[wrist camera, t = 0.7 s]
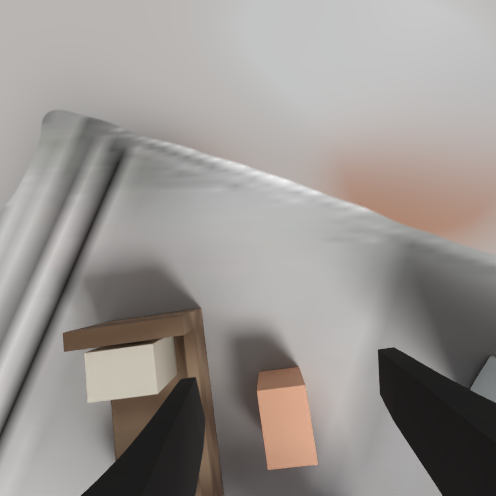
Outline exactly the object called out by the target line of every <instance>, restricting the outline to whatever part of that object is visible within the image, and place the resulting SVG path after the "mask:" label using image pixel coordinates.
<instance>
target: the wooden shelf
mask: <svg viewBox="0 0 496 496" xmlns="http://www.w3.org/2000/svg"><path fill="white" fill-rule="evenodd" d="M167 337H174V346H175V355H176V364H177V375H176V376H175V377H174V378H173V379H172V380H171V381H170V382H169V383H168V384H167V385H166V386H165V387H164V388H163V389H162V390H161V391H160V392H159V393H158V394H154V395H146V396H139V397H131V398H123V399H115V400H111V403H112V416H113V429H114V442H115V455H116V460H117V459H118V458H119V457H120V456H121V455H122V454H123V453H124V452H125V450H126V449H127V448H128V447H129V446H130V445H131V443H132V442H133V441H134V440H135V438H136V437H137V436H138V435H139V434H140V432H141V431H142V430H143V429H144V427H145V426H146V425H147V424H148V422H149V421H150V420H151V418H152V417H153V416H154V414H155V413H156V412H157V410H158V409H159V408H160V406H161V405H162V404H163V402H164V401H165V400H166V398H167V397H168V395H169V394H170V393H171V391H172V390H173V388H174V387H175V386H176V384H177V383H178V382H179V380H180V379H184V378H191V377H196V380H197V384H198V389H199V393H200V397H201V402H202V406H203V411H204V415H205V419H206V420H205V436H204V448H203V454H202V460H201V466H200V472H199V477H198V483H197V488H196V494H195V496H224V492H223V484H222V476H221V468H220V460H219V451H218V443H217V435H216V427H215V419H214V410H213V402H212V394H211V386H210V378H209V369H208V361H207V353H206V345H205V336H204V328H203V320H202V312H201V308H199V309H192V310H185V311H178V312H171V313H164V314H157V315H150V316H144V317H137V318H130V319H123V320H116V321H109V322H105V323H101V324H97V325H93V326H89V327H85V328H81V329H77V330H73V331H69V332H65V333H63V342H64V352H66V351H73V350H80V349H88V348H95V347H102V346H109V345H116V344H123V343H131V342H138V341H145V340H152V339H159V338H167Z"/></svg>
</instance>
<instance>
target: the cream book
mask: <svg viewBox="0 0 496 496" xmlns="http://www.w3.org/2000/svg"><path fill="white" fill-rule="evenodd" d="M84 357H85V372H86V387H87V402H88V403H92V402H100V401H107V400H115V399H123V398H131V397H139V396H146V395H154V394H158V393H159V392H160V391H161V390H162V389H163V388H164V387H165V386H166V385H167V384H168V383H169V382H170V381H171V380H172V379H173V378H174V377H175V376H176V375H177V364H176V355H175V346H174V337H167V338H159V339H152V340H145V341H138V342H131V343H123V344H116V345H109V346H102V347H99V348H97V349H94V350H91V351H89V352H86V353H84Z"/></svg>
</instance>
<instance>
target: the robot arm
mask: <svg viewBox="0 0 496 496" xmlns="http://www.w3.org/2000/svg"><path fill="white" fill-rule="evenodd" d="M378 360H379V382H380V395H381V397H382V399H383V401H384V403H385V405H386V407H387V409H388V411H389V413H390V415H391V416H392V418H393V420H394V422H395V423H396V425H397V427H398V428H399V430H400V431H401V433H402V434H403V436H404V437H405V439H406V440H407V442H408V443H409V445H410V446H411V448H412V449H413V451H414V453H415V454H416V456H417V457H418V459H419V460H420V462H421V463H422V465H423V466H424V468H425V469H426V471H427V472H428V474H429V475H430V477H431V478H432V480H433V481H434V483H435V484H436V486H437V487H438V489H439V491H440V492H441V494H442V495H443V496H496V403H495V402H493V401H491V400H489V399H487V398H485V397H483V396H481V395H479V394H477V393H475V392H473V391H471V390H469V389H467V388H465V387H463V386H461V385H460V384H458V383H456V382H454V381H452V380H450V379H448V378H447V377H445V376H443V375H441V374H439V373H438V372H436V371H434V370H432V369H431V368H429V367H427V366H425V365H424V364H422V363H420V362H419V361H417V360H415V359H413V358H412V357H410V356H408V355H407V354H405V353H403V352H401V351H399V350H398V349H396V348H394V347H393V348H386V349H380V350H378ZM205 420H206V419H205V415H204V411H203V406H202V402H201V397H200V393H199V389H198V384H197V380H196V377H191V378H184V379H180V380H179V382H178V383H177V384H176V386H175V387H174V388H173V390H172V391H171V393H170V394H169V395H168V397H167V398H166V400H165V401H164V402H163V404H162V405H161V406H160V408H159V409H158V410H157V412H156V413H155V414H154V416H153V417H152V418H151V420H150V421H149V422H148V424H147V425H146V426H145V427H144V429H143V430H142V431H141V432H140V434H139V435H138V436H137V437H136V438H135V440H134V441H133V442H132V443H131V445H130V446H129V447H128V448H127V449H126V450H125V452H124V453H123V454H122V455H121V456H120V457H119V458H118V459H117V460H116V461H115V462H114V464H113V465H112V466H111V467H110V468H109V469H108V470H107V471H106V472H105V473H104V474H103V475H102V476H101V477H100V478H99V479H98V480H97V481H96V482H95V483H94V484H93V485H92V486H91V487H90V488H89V489H88V490H86V491H85V492H84V493H83V494H82V495H81V496H195V494H196V488H197V483H198V477H199V472H200V466H201V460H202V454H203V448H204V436H205Z"/></svg>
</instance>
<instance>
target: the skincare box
mask: <svg viewBox="0 0 496 496" xmlns="http://www.w3.org/2000/svg"><path fill="white" fill-rule="evenodd" d="M470 390H471V391H473V392H475V393H477V394H479V395H481V396H483V397H485V398H487V399H489V400H491V401H493V402H495V403H496V357H494V356H490V358H489V359H488V360H487V362H486V364H485V365H484V367H483V368H482V370H481V372H480V373H479V375H478V376H477V378H476V380H475V381H474V383H473V385H472V387H471V388H470Z"/></svg>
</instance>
